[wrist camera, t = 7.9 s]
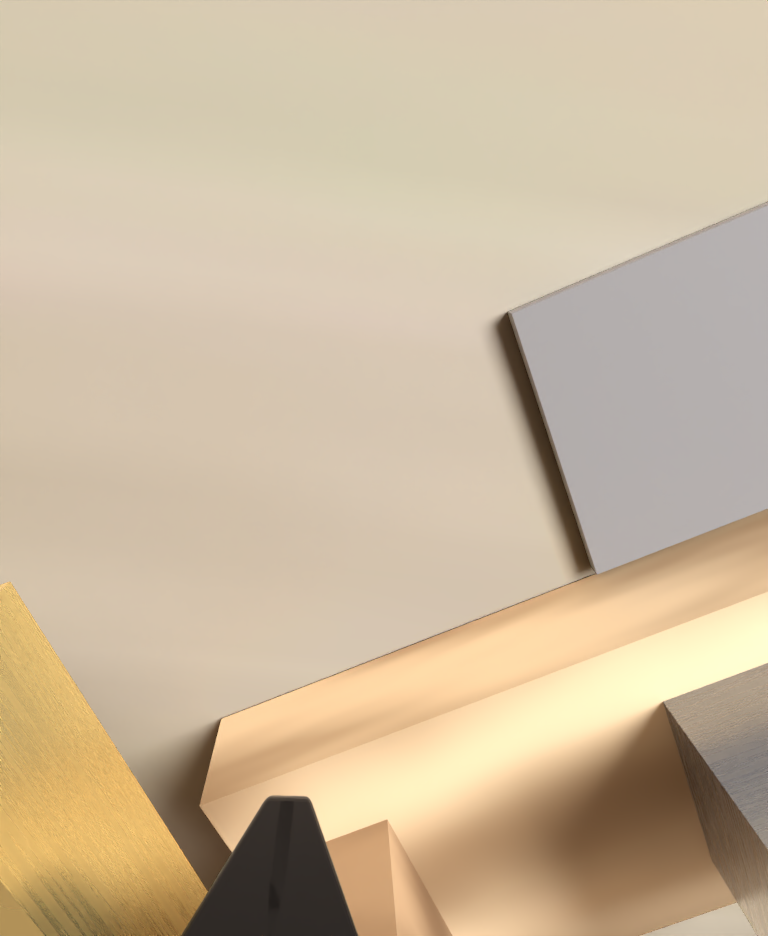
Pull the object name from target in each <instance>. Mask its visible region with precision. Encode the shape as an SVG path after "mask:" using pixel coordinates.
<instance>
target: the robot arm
mask: <svg viewBox="0 0 768 936" xmlns="http://www.w3.org/2000/svg"><path fill="white" fill-rule="evenodd" d="M181 936H358V933H357V930H356V927H355V924H354V921H353V918H352V916H351V913H350V910H349V907H348V904H347V901H346V898H345V895H344V893H343V890H342V887H341V884H340V881H339V878H338V875H337V873H336V870H335V867H334V864H333V861H332V858H331V855H330V853H329V850H328V847H327V844H326V841H325V838H324V835H323V832H322V830H321V827H320V824H319V821H318V818H317V815H316V812H315V810H314V807H313V804H312V802H311V800H310V798H308V797H307V796H283V795H272V796H269V797H267V798H266V799H265V801H264V802H263V803H262V805H261V807H260V808H259V810H258V811H257V813H256V815H255V816H254V818H253V819H252V821H251V823H250V824H249V826H248V828H247V829H246V831H245V832H244V834H243V836H242V837H241V839H240V840H239V842H238V844H237V845H236V847H235V849H234V850H233V852H232V853H231V855H230V857H229V858H228V860H227V861H226V863H225V865H224V866H223V868H222V870H221V871H220V873H219V874H218V876H217V878H216V879H215V881H214V882H213V884H212V886H211V887H210V889H209V891H208V892H207V894H206V895H205V897H204V899H203V900H202V902H201V903H200V905H199V907H198V908H197V910H196V912H195V913H194V915H193V916H192V918H191V920H190V921H189V923H188V924H187V926H186V928H185V929H184V931H183V933H182V934H181Z"/></svg>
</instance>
